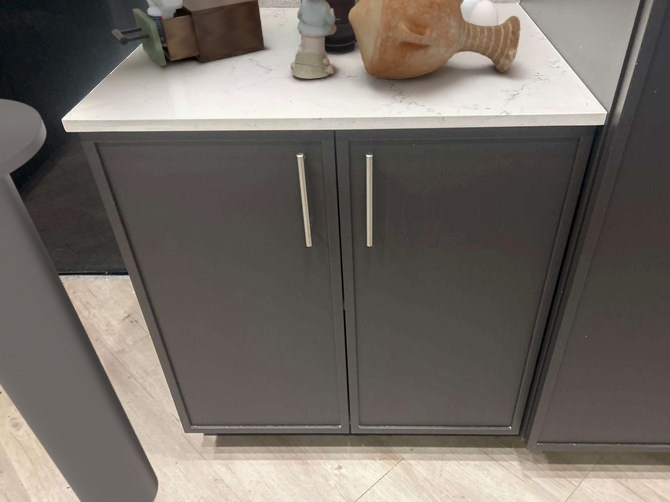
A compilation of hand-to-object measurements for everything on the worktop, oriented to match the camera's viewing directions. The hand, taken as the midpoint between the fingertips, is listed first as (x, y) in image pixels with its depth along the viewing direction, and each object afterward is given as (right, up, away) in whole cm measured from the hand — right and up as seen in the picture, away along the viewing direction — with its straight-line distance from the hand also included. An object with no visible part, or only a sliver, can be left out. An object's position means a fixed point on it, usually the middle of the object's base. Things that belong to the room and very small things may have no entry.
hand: (164, 24), depth 111 cm
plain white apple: (+62, +9, +19) cm, 65 cm away
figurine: (+30, -11, -3) cm, 32 cm away
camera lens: (+33, -2, +7) cm, 34 cm away
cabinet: (+9, -1, +9) cm, 13 cm away
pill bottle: (0, -3, +3) cm, 4 cm away
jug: (+52, -12, -5) cm, 53 cm away
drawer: (0, -4, +4) cm, 6 cm away
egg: (+64, +1, +10) cm, 65 cm away
